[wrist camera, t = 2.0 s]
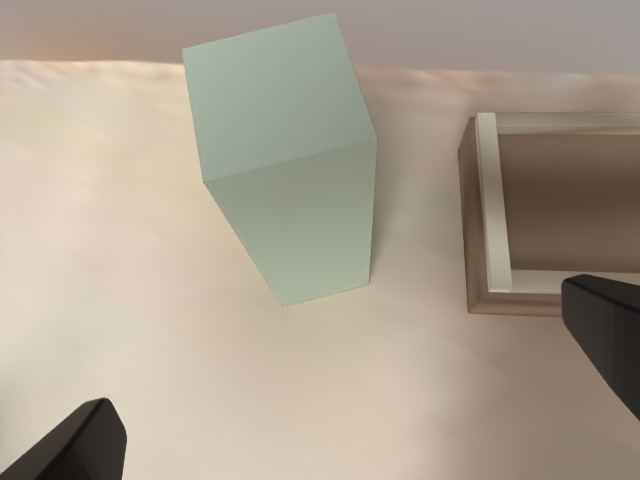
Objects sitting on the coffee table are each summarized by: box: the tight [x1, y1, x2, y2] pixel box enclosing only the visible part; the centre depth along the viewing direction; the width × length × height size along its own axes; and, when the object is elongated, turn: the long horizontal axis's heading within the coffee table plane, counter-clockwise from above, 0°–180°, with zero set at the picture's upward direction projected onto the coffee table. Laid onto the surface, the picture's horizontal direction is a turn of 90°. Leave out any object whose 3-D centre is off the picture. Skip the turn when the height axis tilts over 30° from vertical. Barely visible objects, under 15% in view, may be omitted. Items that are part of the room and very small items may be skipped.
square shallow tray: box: [458, 112, 640, 317], centre depth 22 cm, size 9×9×4 cm
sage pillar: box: [182, 12, 378, 307], centre depth 18 cm, size 4×4×12 cm
